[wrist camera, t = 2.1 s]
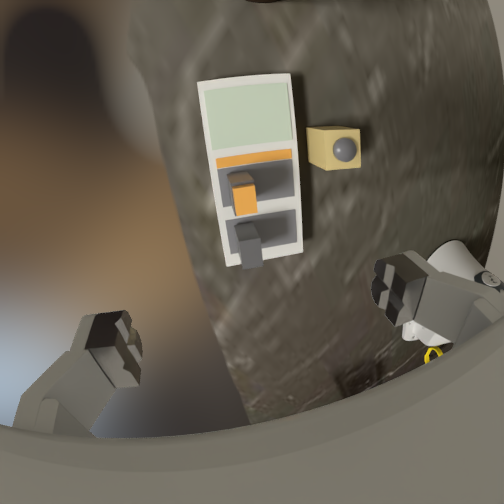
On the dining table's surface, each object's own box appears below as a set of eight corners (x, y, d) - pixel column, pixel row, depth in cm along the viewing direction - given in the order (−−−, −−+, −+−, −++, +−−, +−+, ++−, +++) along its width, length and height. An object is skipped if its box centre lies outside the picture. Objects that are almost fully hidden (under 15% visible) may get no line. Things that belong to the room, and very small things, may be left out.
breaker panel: (296, 243, 35) (303, 252, 33) (224, 256, 34) (226, 267, 32) (283, 76, 26) (290, 73, 23) (197, 85, 25) (197, 82, 22)
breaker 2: (255, 247, 31) (263, 265, 28) (237, 250, 31) (243, 269, 27) (252, 222, 30) (260, 238, 26) (234, 225, 29) (238, 241, 26)
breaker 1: (250, 199, 28) (259, 215, 24) (230, 202, 28) (236, 219, 24) (246, 170, 27) (255, 182, 23) (226, 174, 27) (231, 185, 23)
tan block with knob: (339, 158, 31) (363, 168, 26) (308, 161, 31) (328, 171, 26) (337, 125, 29) (362, 129, 24) (305, 127, 29) (326, 130, 24)
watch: (428, 344, 54) (441, 359, 49) (435, 341, 55) (449, 355, 49) (420, 361, 57) (432, 377, 51) (427, 358, 57) (440, 373, 52)
